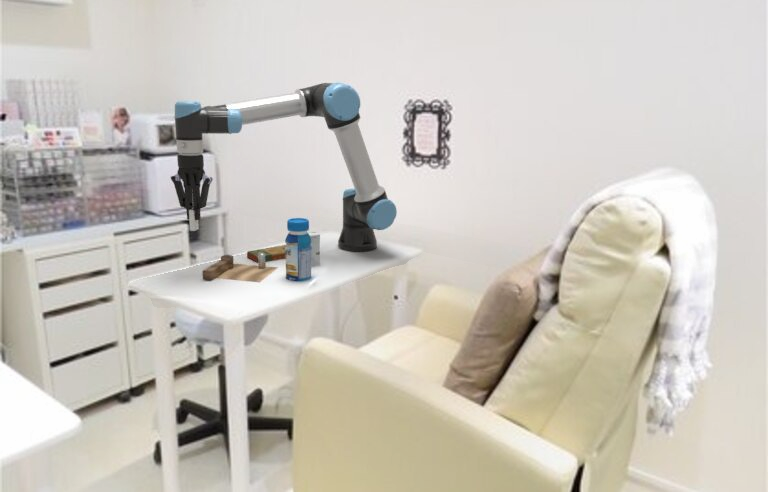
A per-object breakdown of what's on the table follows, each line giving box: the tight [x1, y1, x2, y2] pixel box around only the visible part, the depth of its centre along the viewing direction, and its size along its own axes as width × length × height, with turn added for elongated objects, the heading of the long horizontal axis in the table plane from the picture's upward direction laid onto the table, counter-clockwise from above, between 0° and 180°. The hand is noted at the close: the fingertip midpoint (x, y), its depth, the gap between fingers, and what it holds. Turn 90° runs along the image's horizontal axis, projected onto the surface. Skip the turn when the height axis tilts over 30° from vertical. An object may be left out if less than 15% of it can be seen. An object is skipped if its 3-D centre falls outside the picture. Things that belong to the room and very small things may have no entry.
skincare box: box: [308, 231, 321, 268], centre depth 201 cm, size 6×4×12 cm
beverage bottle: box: [284, 217, 313, 282], centre depth 186 cm, size 8×8×20 cm
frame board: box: [214, 263, 279, 283], centre depth 192 cm, size 18×16×1 cm
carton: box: [246, 244, 286, 264], centre depth 209 cm, size 8×16×4 cm, turn 128°
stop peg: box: [257, 253, 267, 269], centre depth 196 cm, size 2×2×5 cm
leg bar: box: [202, 253, 235, 281], centre depth 190 cm, size 16×4×4 cm, turn 169°
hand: (194, 229), depth 184 cm, fingers closed
